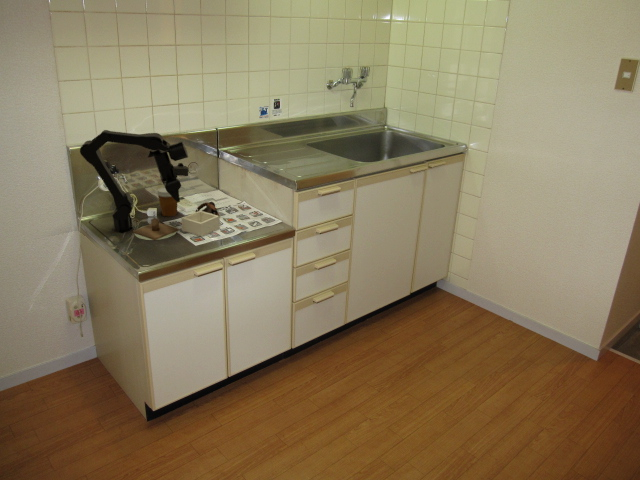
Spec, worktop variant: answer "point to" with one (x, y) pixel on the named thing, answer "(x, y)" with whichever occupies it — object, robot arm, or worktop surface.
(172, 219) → the worktop surface
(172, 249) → the worktop surface
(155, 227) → the walnut lid
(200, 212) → the cream open box
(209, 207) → the brown curved piece
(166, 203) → the disposable coffee cup
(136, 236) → the sage mat
